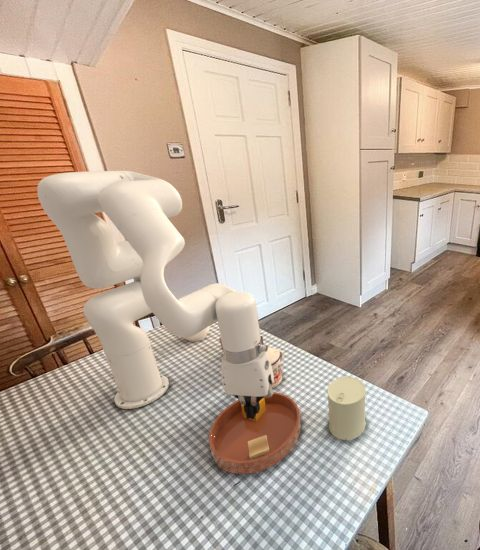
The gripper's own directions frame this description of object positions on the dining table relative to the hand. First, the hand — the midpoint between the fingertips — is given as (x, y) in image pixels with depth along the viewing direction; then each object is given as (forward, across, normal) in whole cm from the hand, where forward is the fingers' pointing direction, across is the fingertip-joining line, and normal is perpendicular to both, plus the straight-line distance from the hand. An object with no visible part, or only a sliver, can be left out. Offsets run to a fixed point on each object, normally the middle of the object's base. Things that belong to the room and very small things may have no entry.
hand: (253, 413), depth 71 cm
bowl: (+7, -1, 0) cm, 7 cm away
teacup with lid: (+7, +4, -20) cm, 21 cm away
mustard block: (+6, +3, -6) cm, 9 cm away
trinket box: (+8, +39, -39) cm, 56 cm away
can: (+6, -22, -4) cm, 23 cm away
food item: (+7, +16, -30) cm, 34 cm away
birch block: (+6, -4, +6) cm, 9 cm away
